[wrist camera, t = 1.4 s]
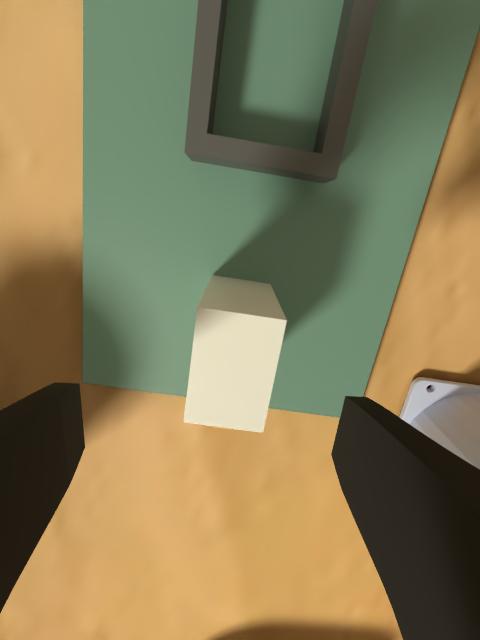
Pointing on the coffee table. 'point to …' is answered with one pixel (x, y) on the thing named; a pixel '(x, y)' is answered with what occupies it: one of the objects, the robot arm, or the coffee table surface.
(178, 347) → the board
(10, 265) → the coffee table surface
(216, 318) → the cream rectangular block
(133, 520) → the coffee table surface
